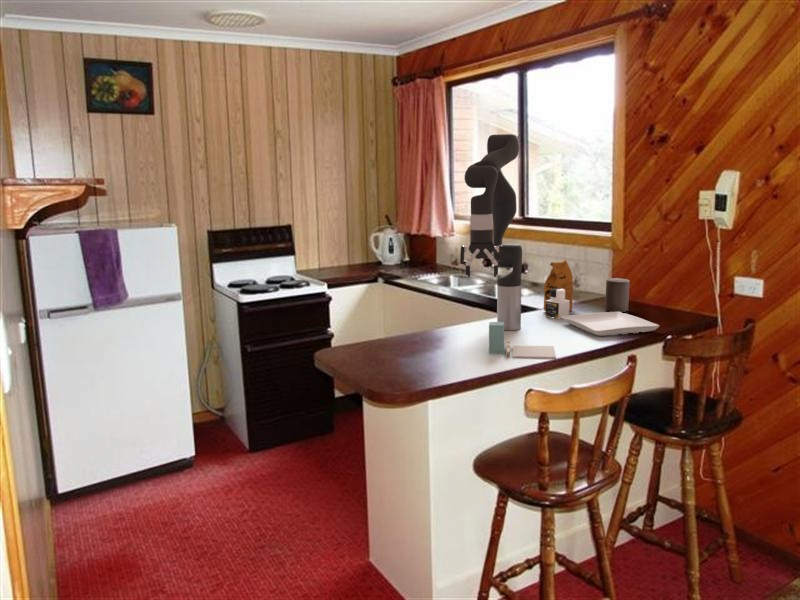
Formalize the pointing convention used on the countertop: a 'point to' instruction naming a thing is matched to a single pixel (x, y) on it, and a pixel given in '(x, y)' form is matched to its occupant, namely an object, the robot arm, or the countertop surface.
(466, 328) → the countertop surface
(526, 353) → the mat
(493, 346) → the teal block
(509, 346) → the rail
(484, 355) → the countertop surface
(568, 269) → the coffee package
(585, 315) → the square plate
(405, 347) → the countertop surface
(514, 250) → the robot arm
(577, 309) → the countertop surface
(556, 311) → the medicine bottle
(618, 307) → the pillar candle
